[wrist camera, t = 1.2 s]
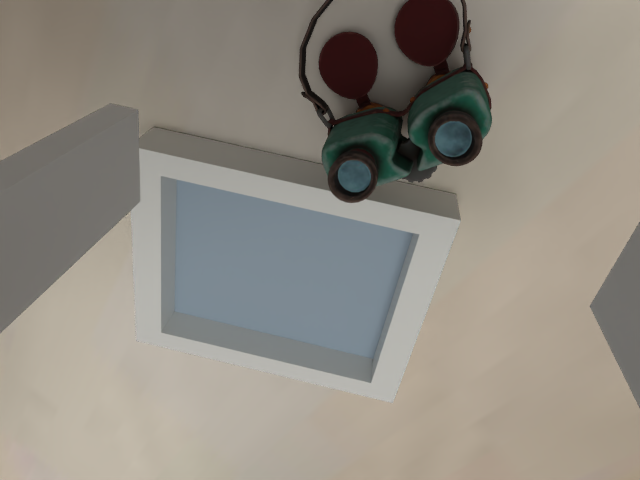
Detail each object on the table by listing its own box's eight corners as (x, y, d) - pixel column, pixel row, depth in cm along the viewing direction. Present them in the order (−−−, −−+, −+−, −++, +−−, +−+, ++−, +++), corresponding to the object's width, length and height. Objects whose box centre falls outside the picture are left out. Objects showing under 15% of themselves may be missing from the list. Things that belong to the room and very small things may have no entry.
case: (154, 126, 33) (128, 145, 30) (456, 194, 32) (460, 220, 29) (155, 311, 41) (135, 340, 38) (394, 368, 40) (392, 403, 37)
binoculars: (446, -96, 16) (530, 178, 19) (440, -61, 26) (497, 120, 29) (220, 26, 19) (325, 246, 22) (288, 18, 29) (355, 174, 32)
